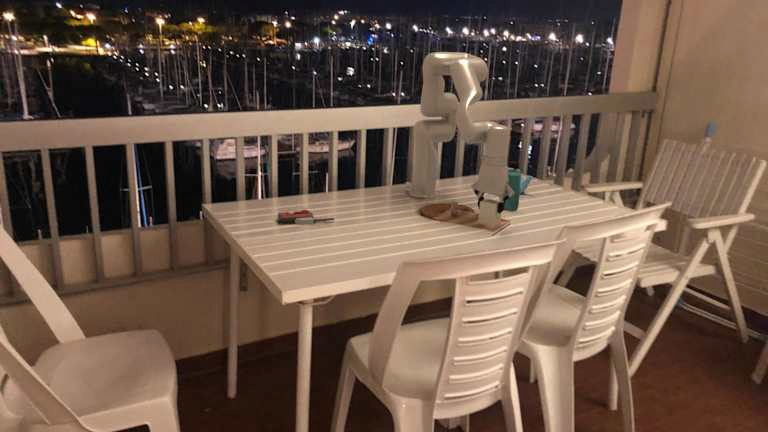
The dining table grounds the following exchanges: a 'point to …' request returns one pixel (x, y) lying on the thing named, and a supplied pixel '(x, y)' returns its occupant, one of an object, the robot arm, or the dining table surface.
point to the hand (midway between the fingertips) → (490, 210)
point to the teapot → (523, 183)
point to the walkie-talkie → (299, 217)
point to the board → (467, 219)
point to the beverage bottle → (513, 187)
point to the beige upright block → (489, 212)
